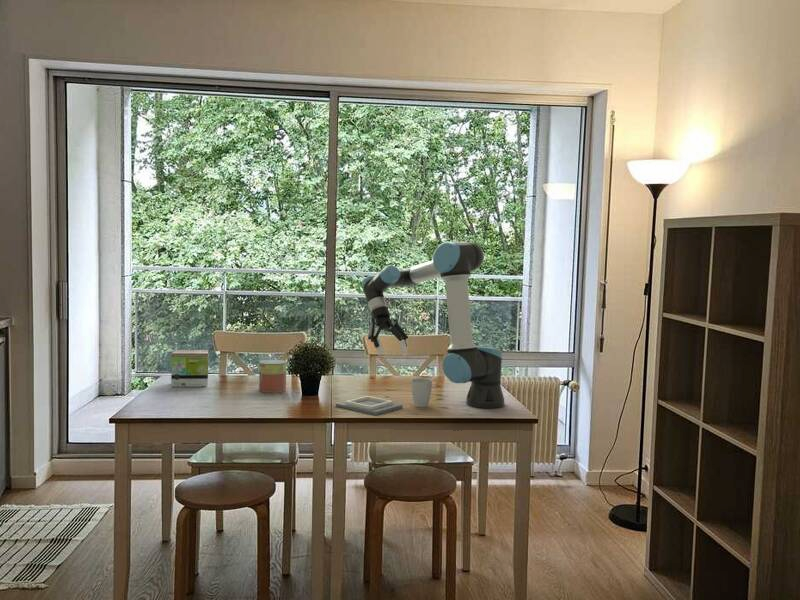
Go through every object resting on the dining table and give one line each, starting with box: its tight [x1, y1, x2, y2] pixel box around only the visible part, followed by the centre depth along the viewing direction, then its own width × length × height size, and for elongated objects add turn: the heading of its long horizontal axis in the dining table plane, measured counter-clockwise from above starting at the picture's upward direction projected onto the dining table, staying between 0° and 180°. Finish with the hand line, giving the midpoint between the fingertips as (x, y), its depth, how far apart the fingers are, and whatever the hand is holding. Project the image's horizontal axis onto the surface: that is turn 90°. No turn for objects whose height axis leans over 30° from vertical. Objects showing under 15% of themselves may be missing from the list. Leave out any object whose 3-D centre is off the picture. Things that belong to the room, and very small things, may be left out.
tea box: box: [170, 349, 209, 388], centre depth 318 cm, size 15×10×15 cm, turn 104°
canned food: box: [258, 358, 287, 393], centre depth 312 cm, size 11×11×12 cm
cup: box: [410, 378, 433, 408], centre depth 290 cm, size 8×8×10 cm
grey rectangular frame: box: [335, 395, 403, 416], centre depth 286 cm, size 20×16×2 cm
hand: (393, 354), depth 307 cm, fingers open, 13 cm apart
